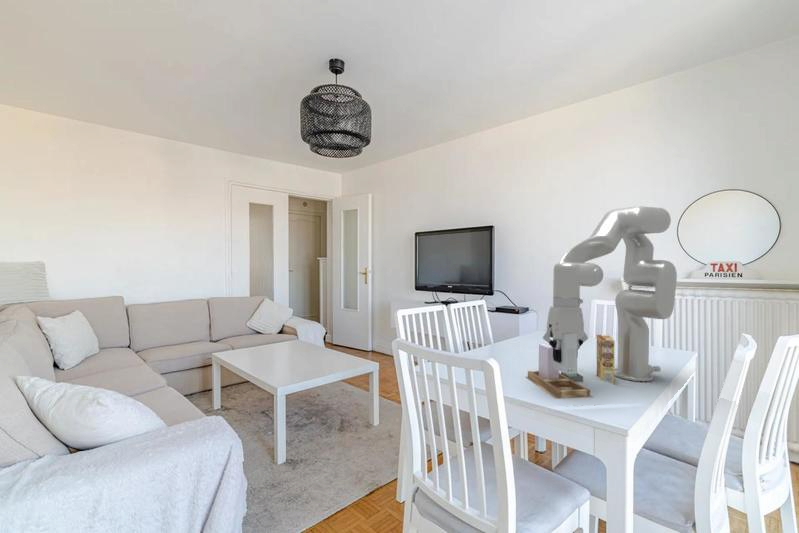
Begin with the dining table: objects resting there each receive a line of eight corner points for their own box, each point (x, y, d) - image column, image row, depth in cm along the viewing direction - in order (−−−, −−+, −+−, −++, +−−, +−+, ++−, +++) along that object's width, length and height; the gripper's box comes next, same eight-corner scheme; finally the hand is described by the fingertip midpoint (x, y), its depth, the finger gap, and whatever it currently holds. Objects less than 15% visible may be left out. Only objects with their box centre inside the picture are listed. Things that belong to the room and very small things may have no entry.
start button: (573, 377, 128) (573, 370, 128) (578, 380, 125) (578, 373, 125) (565, 378, 127) (565, 371, 127) (570, 380, 124) (570, 373, 124)
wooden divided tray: (557, 379, 130) (557, 370, 130) (593, 400, 110) (593, 390, 110) (524, 380, 128) (525, 371, 128) (555, 402, 108) (555, 391, 108)
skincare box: (578, 373, 111) (578, 333, 111) (565, 374, 110) (565, 334, 110) (564, 367, 117) (565, 330, 117) (552, 368, 116) (553, 330, 116)
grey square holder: (574, 379, 129) (574, 371, 129) (582, 384, 124) (583, 376, 124) (560, 380, 128) (560, 371, 128) (569, 385, 123) (569, 376, 123)
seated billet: (549, 377, 127) (549, 343, 127) (558, 383, 121) (559, 347, 121) (538, 378, 127) (538, 343, 126) (547, 384, 121) (547, 348, 121)
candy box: (614, 385, 124) (615, 340, 123) (600, 383, 125) (601, 339, 125) (608, 377, 132) (609, 335, 132) (595, 376, 133) (596, 334, 133)
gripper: (584, 301, 118) (583, 357, 118) (534, 301, 116) (533, 358, 117) (599, 304, 111) (598, 364, 111) (546, 304, 109) (545, 365, 109)
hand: (565, 360), depth 114 cm, fingers closed on skincare box, 4 cm apart
